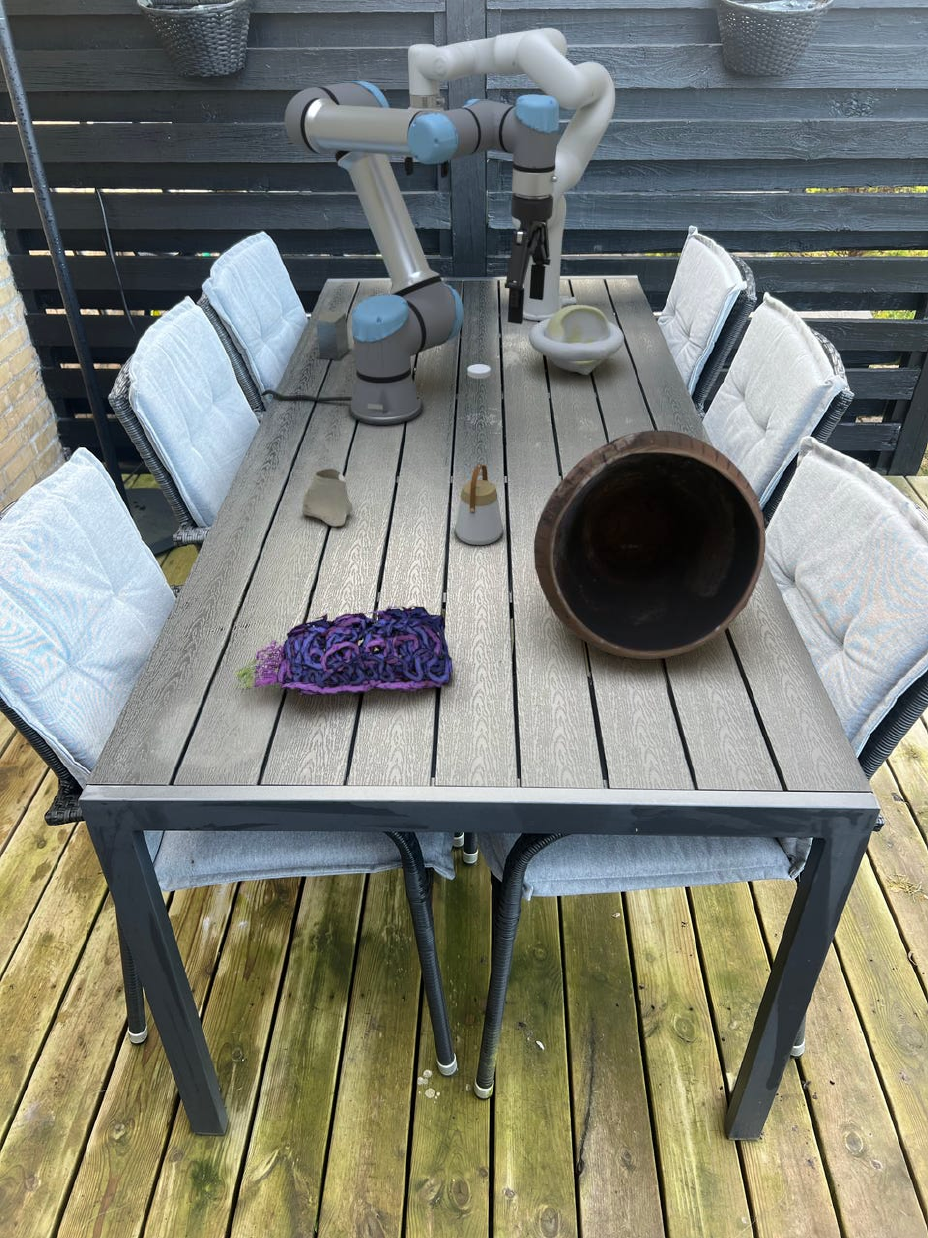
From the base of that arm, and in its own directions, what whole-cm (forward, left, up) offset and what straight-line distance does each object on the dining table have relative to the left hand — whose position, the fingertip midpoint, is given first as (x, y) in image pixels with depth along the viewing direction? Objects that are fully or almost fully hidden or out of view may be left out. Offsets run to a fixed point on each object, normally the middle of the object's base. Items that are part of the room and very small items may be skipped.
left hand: (525, 310), depth 181 cm
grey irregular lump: (-2, -52, -25) cm, 57 cm away
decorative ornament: (+34, -79, -25) cm, 90 cm away
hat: (-10, +32, -25) cm, 41 cm away
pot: (+54, -37, -25) cm, 70 cm away
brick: (-61, +1, -25) cm, 65 cm away
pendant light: (+21, -37, -25) cm, 50 cm away
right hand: (-73, +47, +6) cm, 88 cm away
